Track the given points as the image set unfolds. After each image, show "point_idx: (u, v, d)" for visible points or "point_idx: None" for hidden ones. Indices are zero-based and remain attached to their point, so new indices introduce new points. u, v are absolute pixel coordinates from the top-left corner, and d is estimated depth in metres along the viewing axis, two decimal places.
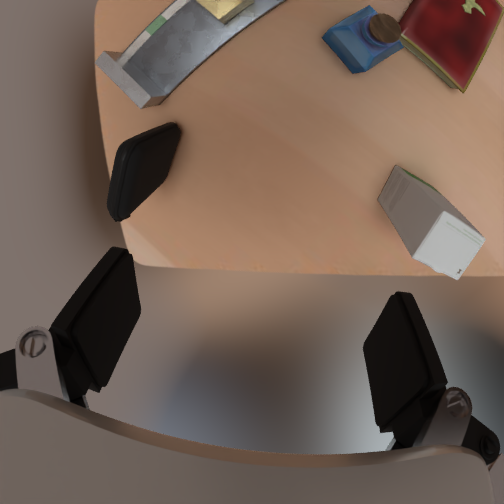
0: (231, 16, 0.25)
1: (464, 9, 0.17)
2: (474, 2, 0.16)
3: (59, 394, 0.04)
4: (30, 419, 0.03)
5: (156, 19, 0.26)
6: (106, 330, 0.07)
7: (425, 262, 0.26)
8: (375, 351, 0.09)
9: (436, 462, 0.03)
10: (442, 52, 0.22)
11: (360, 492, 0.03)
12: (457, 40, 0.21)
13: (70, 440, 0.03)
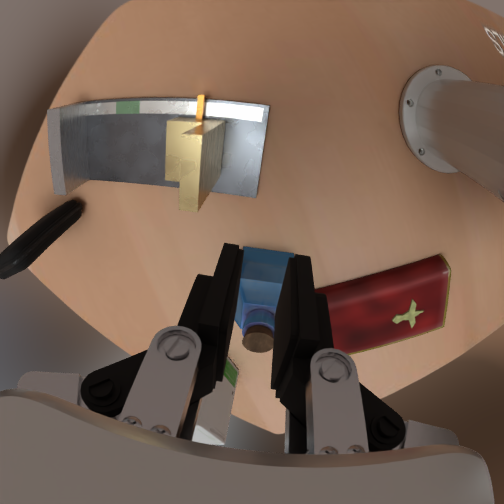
0: None
1: (394, 318, 0.35)
2: (414, 316, 0.34)
3: (178, 412, 0.05)
4: (30, 419, 0.03)
5: (132, 102, 0.25)
6: (231, 324, 0.09)
7: None
8: (278, 315, 0.10)
9: (436, 462, 0.03)
10: None
11: (360, 492, 0.03)
12: (354, 334, 0.37)
13: (70, 440, 0.03)
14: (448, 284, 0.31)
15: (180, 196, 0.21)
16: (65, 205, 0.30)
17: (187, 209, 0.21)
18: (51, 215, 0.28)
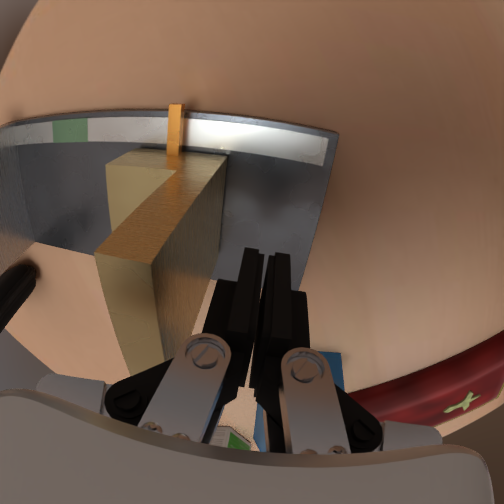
0: None
1: (446, 410, 0.22)
2: (468, 402, 0.21)
3: (201, 422, 0.05)
4: (31, 420, 0.03)
5: (76, 120, 0.13)
6: None
7: None
8: (258, 313, 0.10)
9: (436, 462, 0.03)
10: None
11: (360, 492, 0.03)
12: None
13: (70, 440, 0.03)
14: None
15: (130, 369, 0.08)
16: (10, 276, 0.18)
17: None
18: None
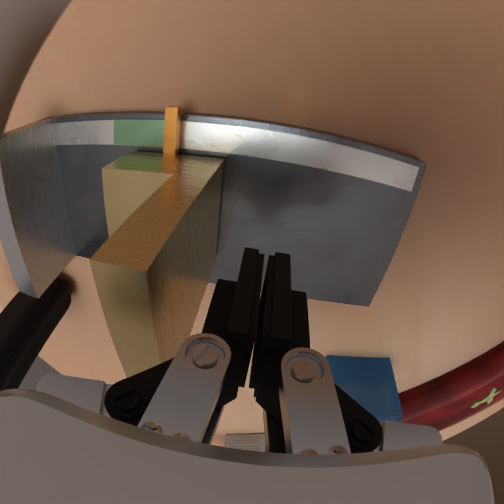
0: None
1: (472, 406, 0.22)
2: (492, 397, 0.21)
3: (201, 422, 0.05)
4: (30, 419, 0.03)
5: (149, 121, 0.12)
6: None
7: None
8: (259, 313, 0.10)
9: (436, 462, 0.03)
10: None
11: (360, 492, 0.03)
12: (430, 426, 0.25)
13: (70, 440, 0.03)
14: None
15: (127, 374, 0.08)
16: (43, 293, 0.18)
17: None
18: (23, 317, 0.15)
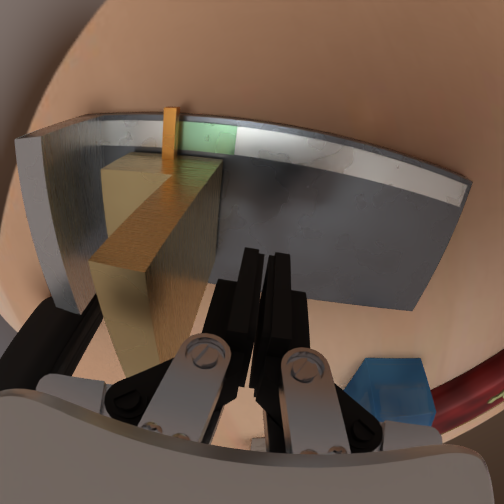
0: None
1: (489, 401, 0.22)
2: None
3: (201, 422, 0.05)
4: (30, 420, 0.03)
5: (218, 126, 0.12)
6: None
7: None
8: (259, 313, 0.10)
9: (436, 462, 0.03)
10: None
11: (360, 492, 0.03)
12: (450, 422, 0.25)
13: (70, 440, 0.03)
14: None
15: (127, 375, 0.08)
16: None
17: None
18: (56, 333, 0.15)
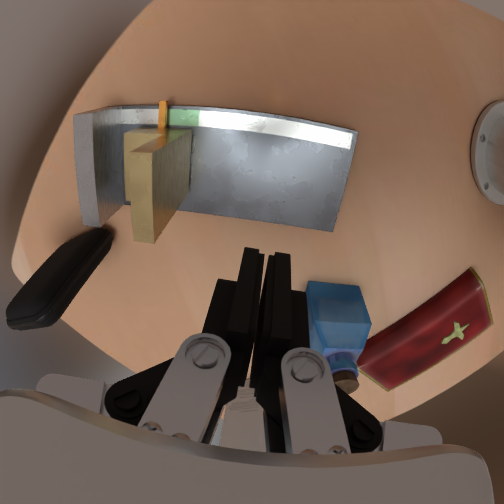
0: None
1: (443, 341, 0.32)
2: (460, 332, 0.31)
3: (201, 422, 0.05)
4: (30, 420, 0.03)
5: (189, 111, 0.21)
6: None
7: None
8: (259, 313, 0.10)
9: (436, 462, 0.03)
10: (386, 374, 0.36)
11: (360, 492, 0.03)
12: (410, 364, 0.35)
13: (70, 440, 0.03)
14: (485, 294, 0.27)
15: (133, 225, 0.17)
16: (93, 236, 0.26)
17: (142, 240, 0.18)
18: (77, 250, 0.24)
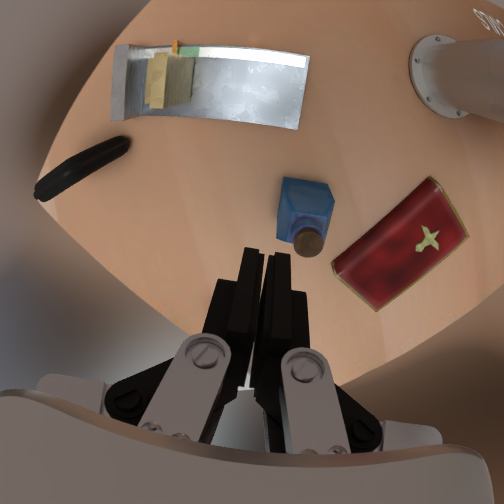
0: None
1: (416, 248, 0.37)
2: (433, 239, 0.36)
3: (201, 421, 0.05)
4: (30, 419, 0.03)
5: (193, 47, 0.28)
6: None
7: None
8: (258, 313, 0.10)
9: (436, 462, 0.03)
10: (368, 287, 0.42)
11: (360, 492, 0.03)
12: (390, 276, 0.41)
13: (70, 440, 0.03)
14: (446, 198, 0.33)
15: (151, 97, 0.24)
16: (114, 138, 0.33)
17: (155, 107, 0.24)
18: (102, 142, 0.31)
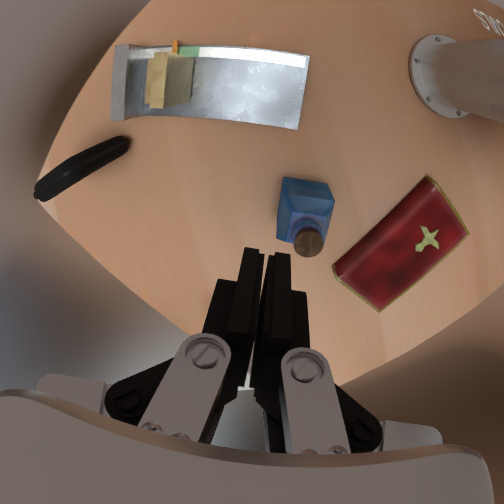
0: None
1: (416, 248, 0.37)
2: (433, 238, 0.36)
3: (201, 422, 0.05)
4: (30, 419, 0.03)
5: (193, 47, 0.28)
6: None
7: None
8: (259, 313, 0.10)
9: (436, 462, 0.03)
10: (370, 288, 0.42)
11: (360, 492, 0.03)
12: (391, 276, 0.41)
13: (70, 440, 0.03)
14: (444, 196, 0.33)
15: (151, 97, 0.24)
16: (114, 137, 0.33)
17: (155, 106, 0.24)
18: (102, 142, 0.31)
